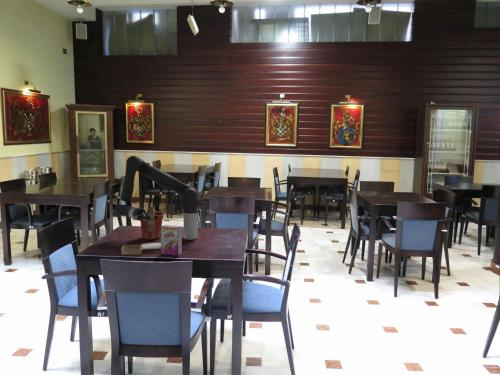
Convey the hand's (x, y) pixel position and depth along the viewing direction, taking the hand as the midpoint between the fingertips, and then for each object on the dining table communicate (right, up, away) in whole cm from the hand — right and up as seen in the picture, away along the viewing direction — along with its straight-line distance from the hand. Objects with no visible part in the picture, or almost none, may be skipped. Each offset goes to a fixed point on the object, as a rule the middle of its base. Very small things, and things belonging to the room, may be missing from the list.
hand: (153, 218), depth 252 cm
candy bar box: (+13, -20, -12) cm, 27 cm away
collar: (-11, -19, -8) cm, 23 cm away
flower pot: (-7, -15, +26) cm, 31 cm away
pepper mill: (-2, -8, +3) cm, 8 cm away
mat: (-2, -18, +4) cm, 18 cm away
